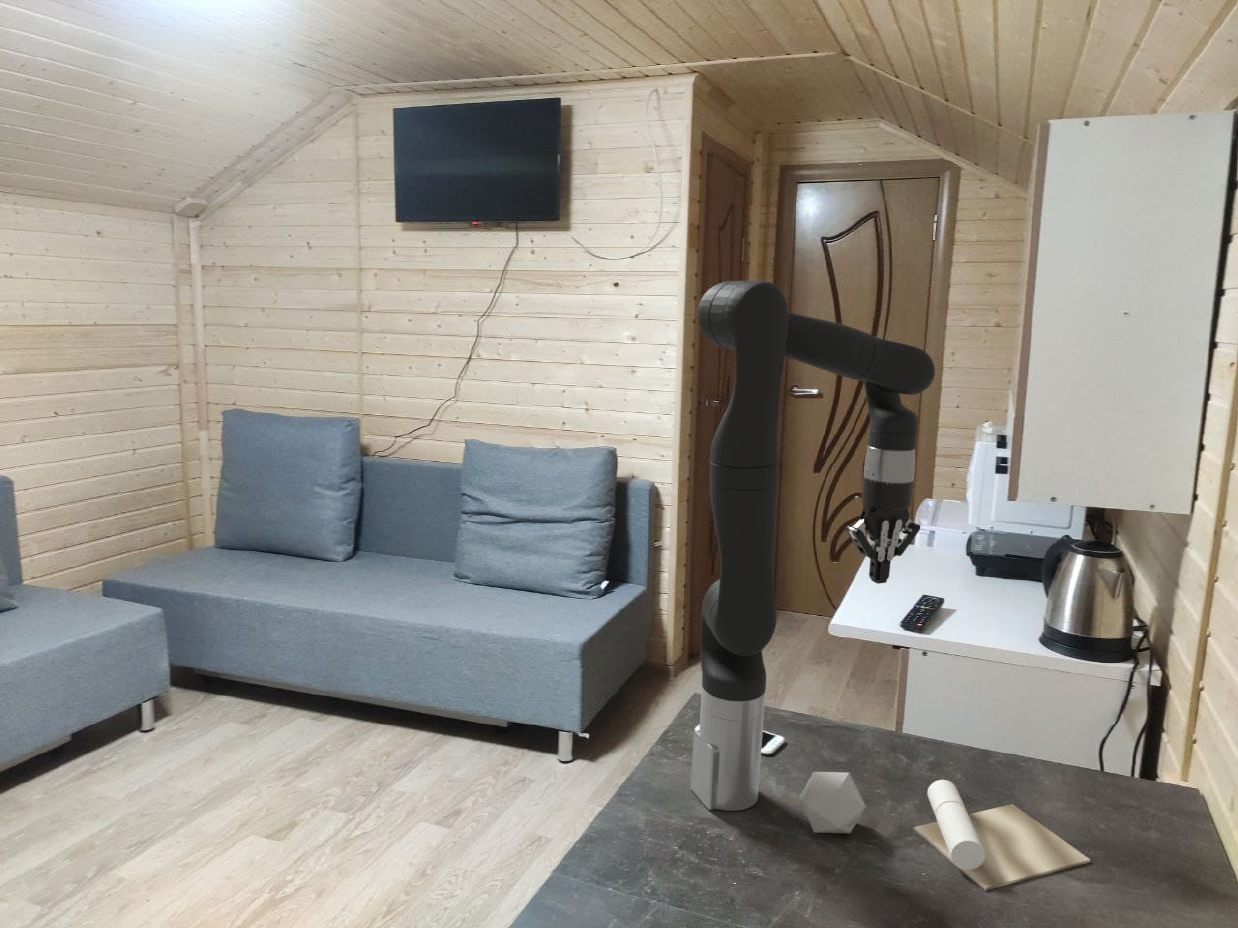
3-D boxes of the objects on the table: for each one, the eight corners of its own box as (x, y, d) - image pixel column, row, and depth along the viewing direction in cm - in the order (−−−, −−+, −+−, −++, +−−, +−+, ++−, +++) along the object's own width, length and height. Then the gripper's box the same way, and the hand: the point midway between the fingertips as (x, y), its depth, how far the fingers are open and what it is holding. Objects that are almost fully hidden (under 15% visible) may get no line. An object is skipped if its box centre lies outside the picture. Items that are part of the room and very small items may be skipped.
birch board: (985, 890, 119) (985, 887, 119) (913, 829, 132) (913, 826, 132) (1089, 861, 126) (1090, 859, 126) (1012, 806, 139) (1012, 803, 138)
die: (848, 857, 126) (884, 795, 128) (794, 821, 127) (830, 759, 128) (832, 842, 134) (866, 784, 136) (782, 808, 135) (816, 750, 136)
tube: (927, 779, 137) (950, 840, 122) (957, 779, 136) (984, 840, 122) (927, 806, 138) (951, 869, 123) (957, 805, 137) (985, 869, 122)
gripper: (867, 483, 139) (857, 593, 142) (939, 478, 143) (927, 585, 147) (838, 472, 145) (829, 578, 149) (907, 468, 150) (897, 570, 154)
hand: (878, 581), depth 148 cm, fingers closed
